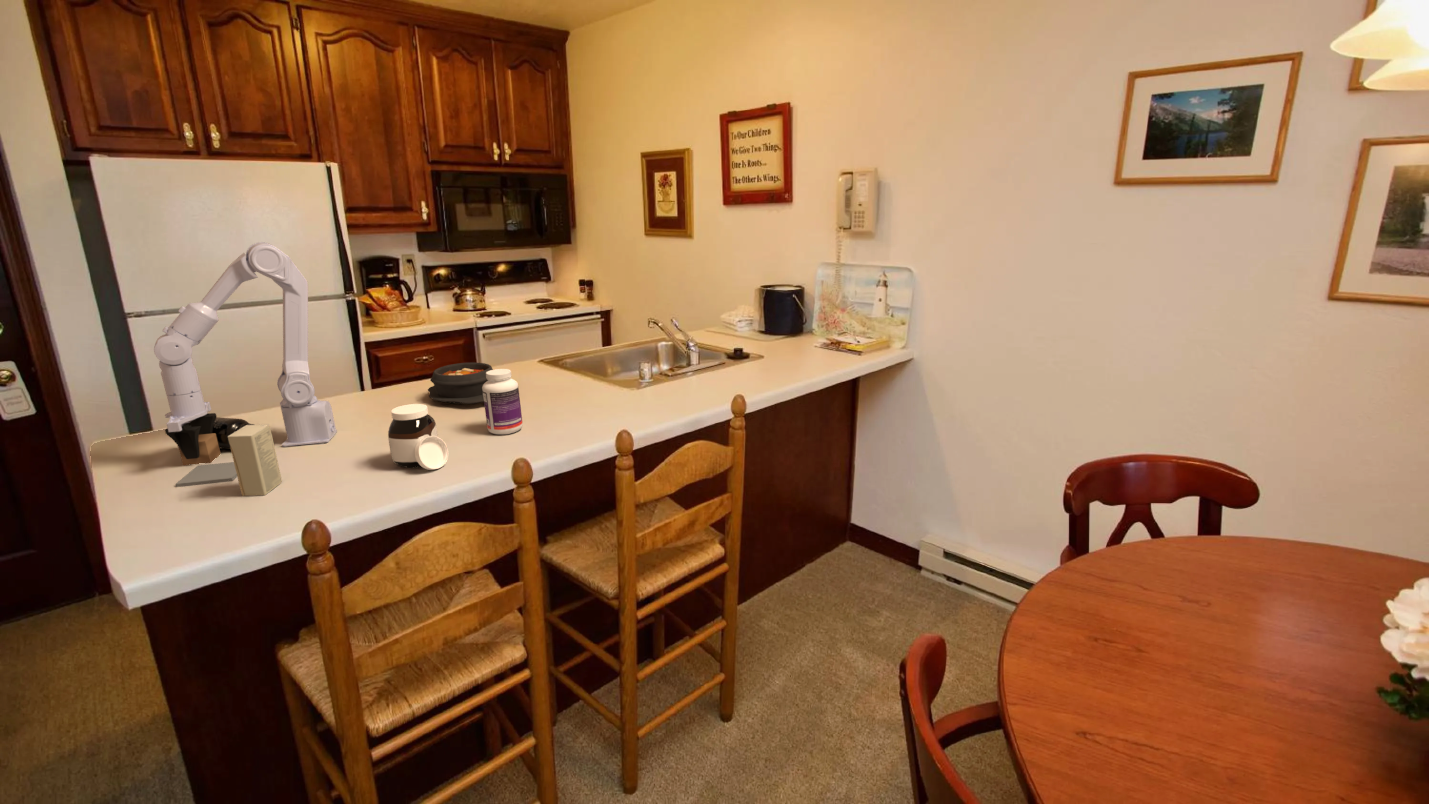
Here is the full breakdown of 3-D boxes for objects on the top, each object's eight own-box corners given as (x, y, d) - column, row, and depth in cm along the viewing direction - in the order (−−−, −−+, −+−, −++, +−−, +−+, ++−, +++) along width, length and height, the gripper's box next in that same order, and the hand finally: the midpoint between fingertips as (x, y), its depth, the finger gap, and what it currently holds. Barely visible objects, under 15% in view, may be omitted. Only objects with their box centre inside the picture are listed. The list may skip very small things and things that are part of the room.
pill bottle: (530, 427, 158) (524, 369, 154) (507, 438, 151) (500, 377, 147) (504, 422, 161) (497, 366, 157) (480, 433, 154) (472, 374, 150)
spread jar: (410, 452, 143) (402, 401, 140) (462, 452, 143) (455, 401, 140) (382, 474, 132) (373, 419, 129) (438, 474, 132) (430, 419, 128)
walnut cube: (220, 454, 143) (215, 433, 142) (210, 463, 139) (205, 441, 137) (194, 457, 142) (188, 435, 141) (183, 465, 138) (177, 443, 136)
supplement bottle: (194, 450, 145) (240, 453, 142) (190, 419, 143) (236, 422, 141) (223, 443, 151) (267, 446, 149) (219, 414, 150) (264, 416, 148)
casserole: (521, 398, 181) (518, 369, 179) (459, 415, 168) (454, 383, 165) (473, 383, 197) (469, 355, 194) (412, 397, 183) (407, 368, 180)
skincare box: (260, 483, 129) (246, 424, 125) (283, 482, 129) (270, 423, 125) (240, 497, 123) (225, 435, 119) (265, 496, 123) (251, 435, 119)
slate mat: (250, 462, 138) (250, 460, 138) (232, 480, 130) (231, 478, 130) (198, 468, 136) (197, 465, 136) (176, 486, 127) (175, 483, 127)
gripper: (177, 384, 142) (192, 443, 146) (142, 403, 128) (159, 467, 132) (215, 381, 143) (229, 440, 147) (184, 400, 130) (200, 464, 134)
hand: (199, 453), depth 140 cm, fingers open, 5 cm apart
